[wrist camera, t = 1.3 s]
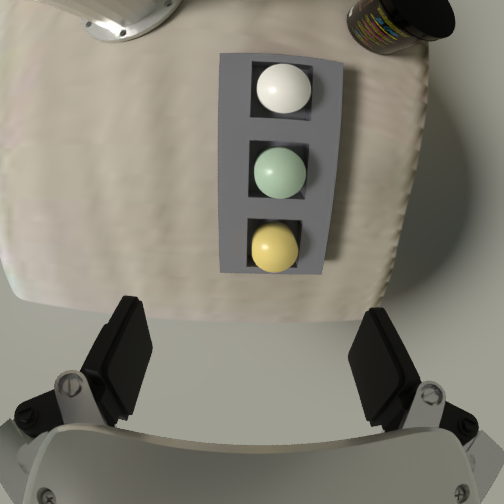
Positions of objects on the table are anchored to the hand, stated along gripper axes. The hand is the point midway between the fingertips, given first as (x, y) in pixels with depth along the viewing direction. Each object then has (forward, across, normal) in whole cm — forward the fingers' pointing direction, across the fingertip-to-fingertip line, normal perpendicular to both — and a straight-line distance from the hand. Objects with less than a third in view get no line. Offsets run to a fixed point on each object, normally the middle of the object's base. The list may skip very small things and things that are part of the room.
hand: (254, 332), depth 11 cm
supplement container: (+20, -12, -21) cm, 31 cm away
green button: (+17, -2, -3) cm, 18 cm away
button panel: (+20, -2, -3) cm, 20 cm away
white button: (+18, -2, -11) cm, 21 cm away
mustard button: (+17, -2, +4) cm, 18 cm away
